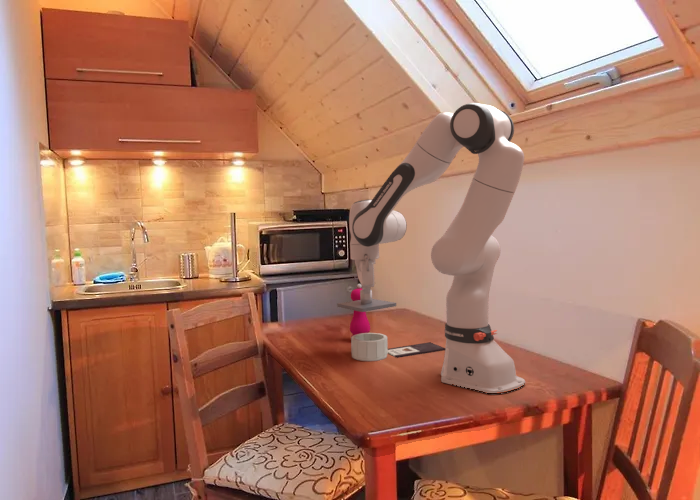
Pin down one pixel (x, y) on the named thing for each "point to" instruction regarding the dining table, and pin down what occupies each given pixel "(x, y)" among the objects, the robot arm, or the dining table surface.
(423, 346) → the chocolate bar
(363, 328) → the pepper mill
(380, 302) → the lid
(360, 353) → the bowl
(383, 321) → the dining table surface
